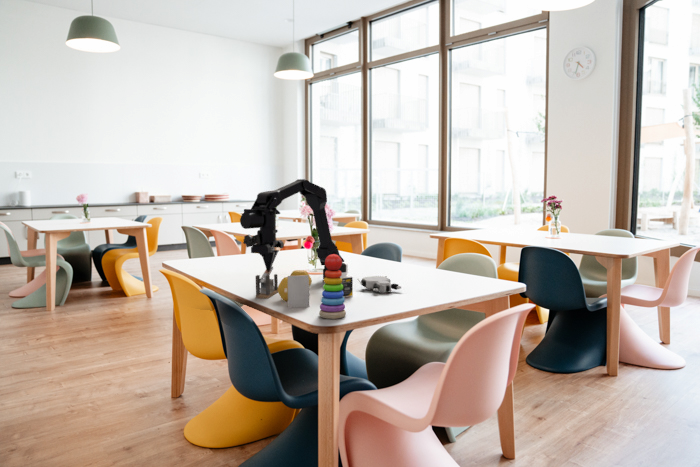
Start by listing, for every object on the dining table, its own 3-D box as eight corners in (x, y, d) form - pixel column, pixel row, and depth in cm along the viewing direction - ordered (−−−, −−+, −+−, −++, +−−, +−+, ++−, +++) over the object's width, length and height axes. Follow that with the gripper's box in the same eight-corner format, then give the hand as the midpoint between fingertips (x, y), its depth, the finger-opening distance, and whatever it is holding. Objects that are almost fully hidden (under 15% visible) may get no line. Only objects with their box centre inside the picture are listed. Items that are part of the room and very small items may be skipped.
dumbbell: (301, 302, 174) (301, 278, 173) (275, 301, 175) (275, 278, 175) (313, 291, 193) (312, 269, 192) (289, 290, 194) (289, 269, 193)
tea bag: (309, 306, 167) (309, 276, 167) (288, 307, 166) (288, 277, 165) (308, 304, 171) (308, 274, 170) (288, 305, 170) (287, 275, 169)
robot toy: (403, 295, 189) (384, 285, 202) (403, 283, 188) (385, 274, 202) (373, 298, 184) (356, 287, 197) (373, 286, 183) (356, 276, 197)
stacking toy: (333, 321, 149) (332, 256, 147) (313, 316, 154) (312, 254, 152) (351, 316, 155) (350, 254, 153) (332, 311, 160) (331, 251, 158)
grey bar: (268, 269, 190) (267, 265, 189) (273, 269, 189) (272, 265, 189) (259, 283, 181) (259, 280, 180) (265, 283, 181) (264, 280, 180)
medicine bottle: (334, 298, 179) (334, 264, 178) (326, 294, 186) (325, 261, 185) (352, 296, 183) (352, 262, 182) (343, 292, 189) (343, 260, 188)
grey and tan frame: (266, 292, 191) (265, 271, 191) (277, 292, 191) (277, 271, 190) (255, 298, 181) (255, 276, 180) (268, 298, 180) (267, 276, 180)
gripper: (255, 225, 196) (256, 265, 198) (236, 228, 178) (237, 273, 179) (283, 225, 194) (284, 266, 196) (267, 229, 176) (267, 274, 177)
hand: (268, 270), depth 187 cm, fingers closed, pressing on grey bar
